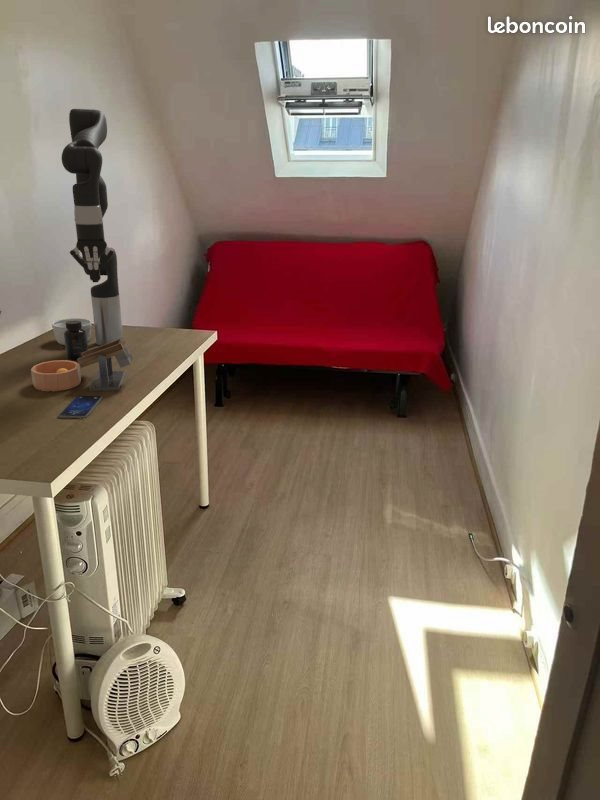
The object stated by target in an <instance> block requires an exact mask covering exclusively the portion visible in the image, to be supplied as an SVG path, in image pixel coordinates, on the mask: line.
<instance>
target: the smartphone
mask: <svg viewBox="0 0 600 800" xmlns="http://www.w3.org/2000/svg"><path fill="white" fill-rule="evenodd" d="M103 399H104V398H103V396H101V395H85V394H84V395H83V394H82V395H80V394H79V395H76V396H75V397H74V399H72V400H71V402H70V403H69V404H67V406H65V408H64V409H63V410H62V411H61V412H60V413H59V414H58V416H57V418H58V417H59V418H58V419H61V418H79V419H78V420H83V418H85V419H87V418H88V417H89V416H90V413H91V414H92V412H93V411H95V409H96V407H97V406H98V405H99V404H100V403H101V401H102V400H103ZM94 408H95V409H94ZM80 418H81V419H80Z"/></svg>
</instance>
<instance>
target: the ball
mask: <svg viewBox="0 0 600 800" xmlns="http://www.w3.org/2000/svg"><path fill="white" fill-rule="evenodd" d="M66 371H68V370H67V369H65V368H61V369H58V370H57V371H56V373H60V372H66Z"/></svg>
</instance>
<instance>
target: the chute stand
mask: <svg viewBox="0 0 600 800" xmlns="http://www.w3.org/2000/svg"><path fill="white" fill-rule="evenodd" d="M98 361H99V362H98V368H99V371H96V373H95V375H94V377H93V379H92V381H91V383H90V385H89V387H88V391H89V392H102V390H103V392H104V391H106V390H109V391H120V388H121V385H122V382H123V379H124V376H125V371H124V370H117V371H116V370H115V371H114V366H113V357H110V358H107V359H106V355H98ZM106 392H107V391H106Z"/></svg>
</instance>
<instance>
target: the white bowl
mask: <svg viewBox="0 0 600 800" xmlns="http://www.w3.org/2000/svg"><path fill="white" fill-rule="evenodd" d="M68 321H81V324H82V328H81V329H83V330H85V332H86V337H87V343H89V342H90V340H91V337H92V320H90V319H87V318H81V317H79V318H78V317H75V318H74V317H73V318H63V319H58V320H55V321H53V322H52V323H51V327H52V330H53V334H54V337H55V340H56V343H58V344H59V345H61V346H62V345H63V346H65V340H64V332H65V331H66V330H67V329H66V322H68ZM88 341H89V342H88Z"/></svg>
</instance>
